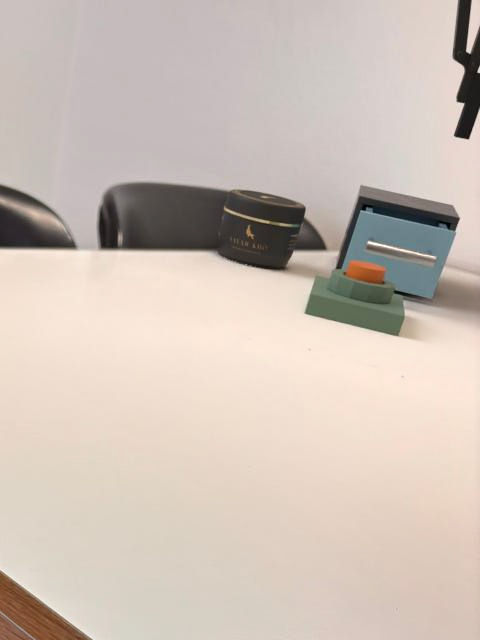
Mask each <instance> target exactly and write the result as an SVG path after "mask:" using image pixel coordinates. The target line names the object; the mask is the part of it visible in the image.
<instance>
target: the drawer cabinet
mask: <svg viewBox="0 0 480 640" xmlns="http://www.w3.org/2000/svg"><path fill="white" fill-rule="evenodd" d="M366 204H367V205H372V206H376V207H381V208H385V209H390V210H394V211H399V212H403V213H408V214H412V215H417V216H421V217H426V218H430V219H435V220H439V221H444V222H445V224H446V226H447V228H448V230H451V231H456V232H457V228H458V225H459V222H460V219H461V217H460V216H459V214H458V211H457V210H456V207H455V206H454V204H449V203H445V202H439V201H435V200H431V199H427V198H422V197H417V196H413V195H408V194H403V193H400V192H394V191H390V190H386V189H381V188H377V187H371V186H368V185H363V184H360V186H359V189H358V192H357V195H356V198H355V201H354V205H353V207H352V210H351V214H350V216H349V220H348V222H347V223H348V224H347V226H346V229H345V232H344V235H343V239H342V242H341V244H340V247H339V251H338V254H337V258H336V263H335V268H334V269H342V267H343V264H344V261H345V258H346V254H347V251H348V248H349V245H350V242H351V239H352V236H353V233H354V230H355V227H356V224H357V221H358V218H359V214H360V211H361V210H362V211H364V210H365V207H366Z"/></svg>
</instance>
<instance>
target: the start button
mask: <svg viewBox="0 0 480 640" xmlns="http://www.w3.org/2000/svg"><path fill="white" fill-rule="evenodd" d="M385 273H386V269H385V268H384V267H381V266H379V265H376V264H372V263H368V262H363V261H356V260H352V261H350V262H349V265H348V268H347V272H346V276H347V277H350V278H353V279H356V280H359V281H363V282H368V283H374V284H382V282H383V279H384V276H385Z"/></svg>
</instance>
